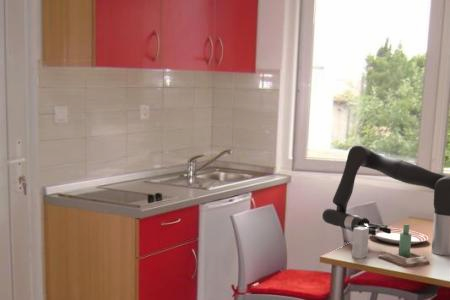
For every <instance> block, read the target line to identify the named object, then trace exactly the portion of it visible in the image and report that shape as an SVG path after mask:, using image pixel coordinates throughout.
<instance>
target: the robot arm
mask: <svg viewBox="0 0 450 300" xmlns="http://www.w3.org/2000/svg"><path fill="white" fill-rule="evenodd" d="M360 167H363V168H367V169H371V170H375V171H378V172H380V173H382V174H384V175H385V176H386V177H390V178H392V179H394V180H397V181H399V182H402V183H405V184H409V185H414V186H420V187H425V188H427V189H431V190H433V208H434V213H433V224H432V225H433V228H432V239H431V240H432V241H431V253H433V254H436V255H439V256H440V255H441V256H450V175H447V174H446V175H445V174H441V173H438V172H435V171H431V170H428V169H426V168H424V167H422V166H419V165H416V164H414V163H412V162H408V161H406V160H404V159H399V158H395V157H391V156H385V155H381V154H379V153H377V152H375V151H373V150H371V149H369V148H367V147H366V146H364V145H361V144H360V145H359V144H357V145H353V146H352V147H351V148H350V149H349V151H348V154H347V159H346V162H345V165H344V168H343V169H344V170H343V172H342V176H341V179H340V182H339V184H338V186H337V189H336V191H335V193H334V196H333V197H332V198H333V199H332V203H333V204H334V205H335V206H336V209H334V208H327V209H325V210H324V211H323V212H322V217H321V218H322V219H323V221H324V222H325V223H326V224H330V225H333V226H335V227H340V228H342V229H345V230H348V231H350V232H352V233H353V229H354V228H357V227H366V228H369V234H368V235H371V234H372V235H371V236H373V235H376V232H385V233H388V234H390V233H391V229H390V228H391V227H388V225H387V224H381V223H378V222H377V223H373V222H370V220H369V219H368V218H367V217H363V216H359V215H356V214H352V213H351V214H350V213H347V207H348V203H349V201H350V198H351V196H352V195H353V190H354V186H355V180H356V177H357V174H358V171H359V169H360ZM376 229H377V231H376Z"/></svg>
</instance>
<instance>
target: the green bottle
mask: <svg viewBox="0 0 450 300" xmlns="http://www.w3.org/2000/svg"><path fill="white" fill-rule="evenodd" d="M402 229H403V233H401V234H400V242H399V244H398V245H399V247H398V254H399V256H402V257H405V258H410V252H411V245H412V244H411V234H409V230H410V224H407V223H404V224H403V228H402Z"/></svg>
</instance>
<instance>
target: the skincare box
mask: <svg viewBox="0 0 450 300" xmlns="http://www.w3.org/2000/svg"><path fill="white" fill-rule="evenodd" d="M352 233H353V235H352V246H351V247H352V249H351V250H352V251H351V257H352V258H355V259H360V260H361V259H363V258H365V257H368V248H369V247H368V246H369V235H370V234H369V228H366V227H357V228H354V229H353V232H352Z"/></svg>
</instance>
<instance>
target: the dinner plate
mask: <svg viewBox="0 0 450 300" xmlns="http://www.w3.org/2000/svg"><path fill="white" fill-rule="evenodd" d="M389 228H390V229H391V233H390V234H388V233H385V232H376V235H372V234H370V235H371V236H373V237H374V238H376V239H379V240H380V241H381V242H385V243H390V244H396V245H399V242H400V234H401V233H403V228H395V227H389ZM376 231H377V229H376ZM409 234H411V245H415V244H419V243H424V242H427V241H428V240H429V237H428V236H427V235H426V234H423V233H420V232H417V231H414V230H410V229H409Z"/></svg>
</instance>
